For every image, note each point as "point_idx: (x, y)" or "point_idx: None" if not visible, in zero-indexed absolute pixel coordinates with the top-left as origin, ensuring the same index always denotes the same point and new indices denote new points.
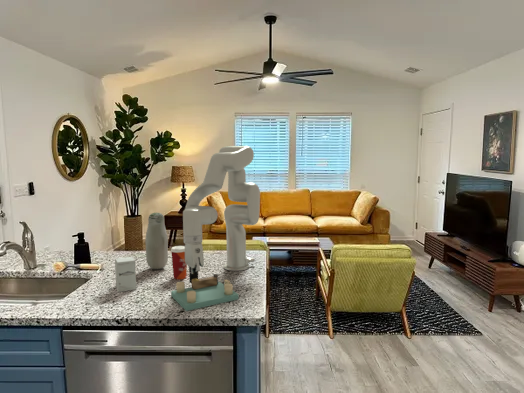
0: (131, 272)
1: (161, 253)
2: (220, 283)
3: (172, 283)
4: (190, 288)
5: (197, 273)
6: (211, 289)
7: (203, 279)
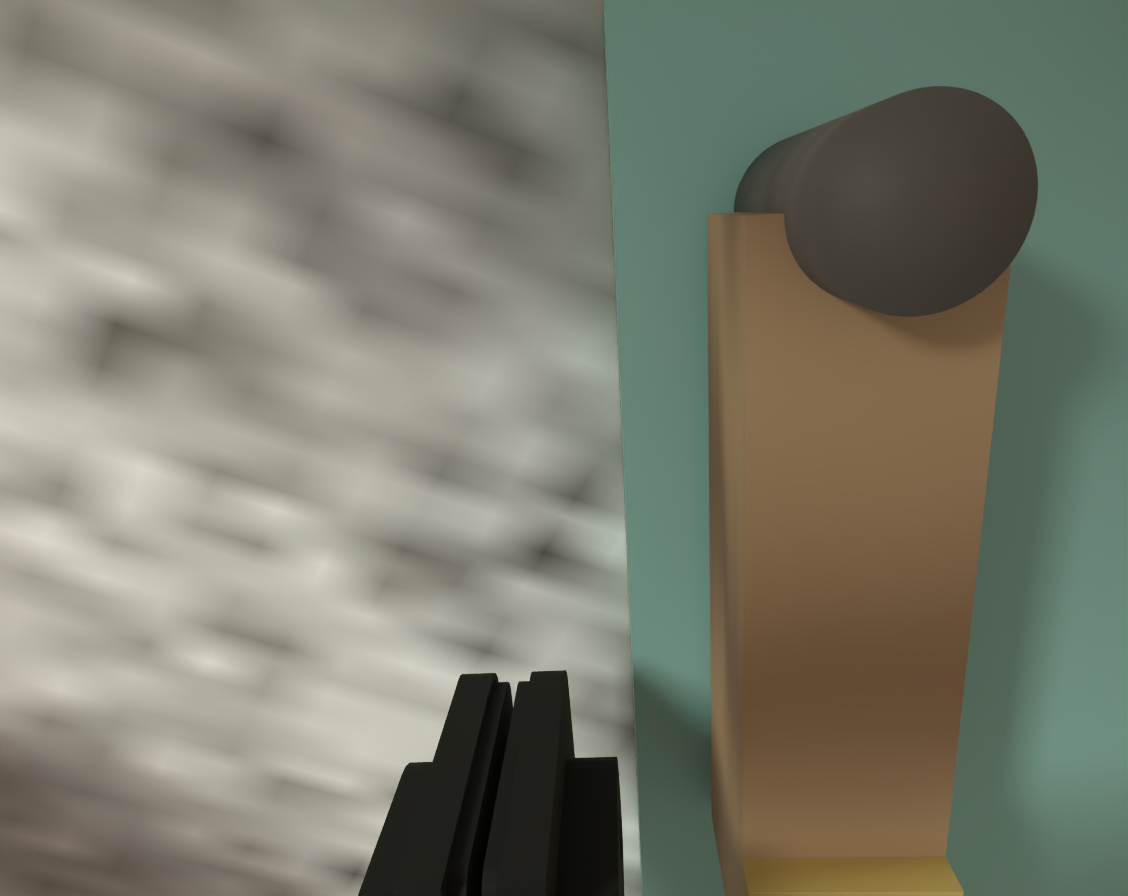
0: None
1: None
2: (772, 20)
3: (13, 850)
4: (711, 827)
5: (549, 893)
6: (1085, 456)
7: (885, 702)
